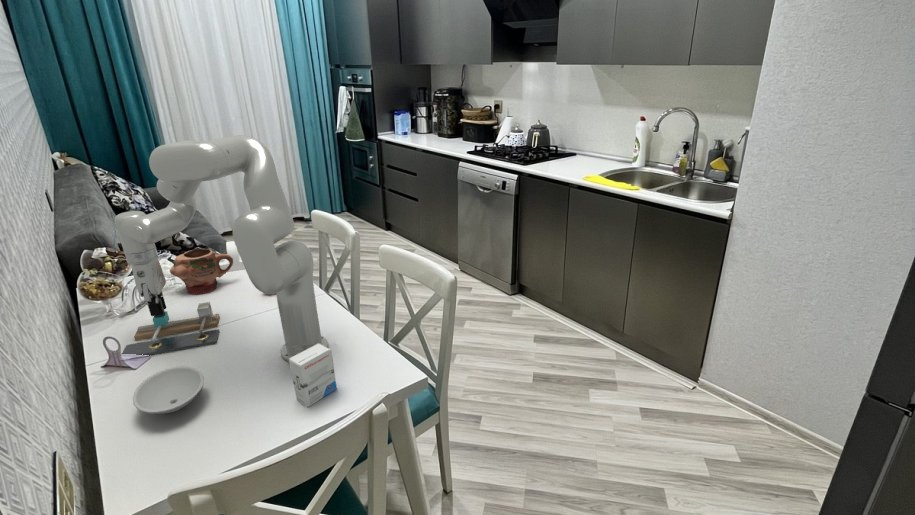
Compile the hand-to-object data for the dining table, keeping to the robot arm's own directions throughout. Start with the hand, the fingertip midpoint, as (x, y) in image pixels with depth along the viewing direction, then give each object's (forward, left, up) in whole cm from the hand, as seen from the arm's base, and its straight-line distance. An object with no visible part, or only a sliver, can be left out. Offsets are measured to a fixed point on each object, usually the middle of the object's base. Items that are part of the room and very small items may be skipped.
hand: (158, 311), depth 139 cm
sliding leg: (-4, 0, -5) cm, 6 cm away
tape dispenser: (+47, -16, -7) cm, 50 cm away
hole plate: (-10, -4, -7) cm, 13 cm away
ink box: (-47, -42, -7) cm, 63 cm away
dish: (-39, -10, -7) cm, 41 cm away
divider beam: (-4, -4, -7) cm, 9 cm away
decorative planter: (+29, -8, -7) cm, 31 cm away
